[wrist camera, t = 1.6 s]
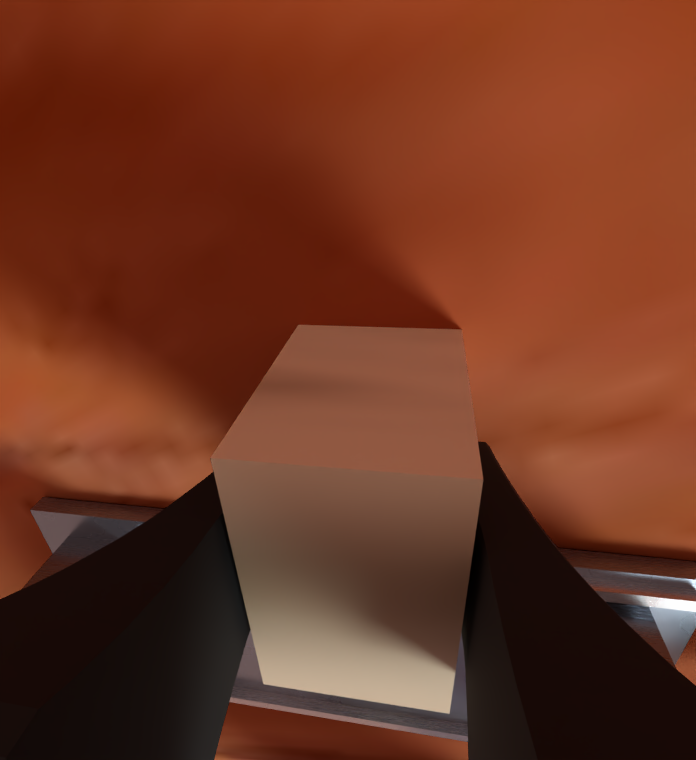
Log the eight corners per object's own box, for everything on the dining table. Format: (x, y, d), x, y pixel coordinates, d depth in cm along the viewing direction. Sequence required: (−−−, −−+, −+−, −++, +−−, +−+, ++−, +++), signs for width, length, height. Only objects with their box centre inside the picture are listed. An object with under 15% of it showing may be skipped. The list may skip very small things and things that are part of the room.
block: (443, 520, 13) (449, 713, 9) (316, 508, 14) (263, 684, 9) (461, 329, 10) (483, 479, 6) (298, 324, 11) (210, 457, 7)
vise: (615, 740, 17) (677, 946, 13) (124, 662, 20) (42, 806, 16) (709, 563, 12) (858, 799, 8) (43, 496, 15) (-106, 640, 11)
